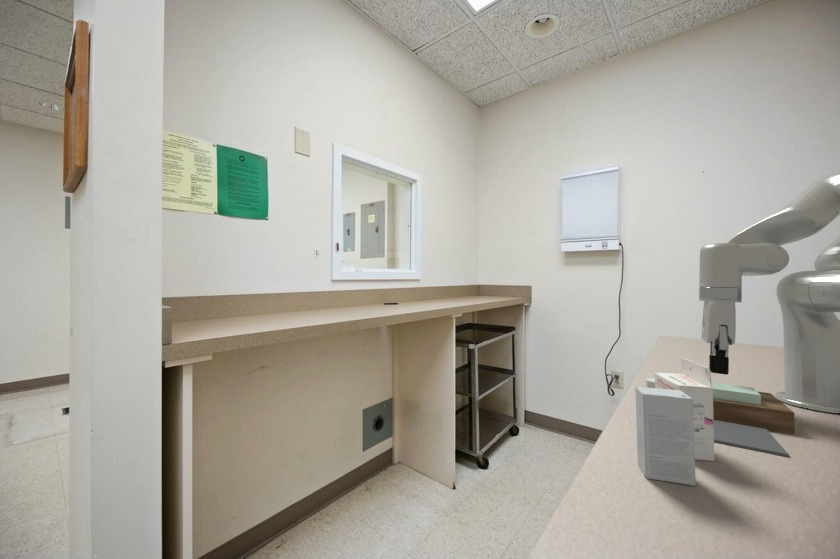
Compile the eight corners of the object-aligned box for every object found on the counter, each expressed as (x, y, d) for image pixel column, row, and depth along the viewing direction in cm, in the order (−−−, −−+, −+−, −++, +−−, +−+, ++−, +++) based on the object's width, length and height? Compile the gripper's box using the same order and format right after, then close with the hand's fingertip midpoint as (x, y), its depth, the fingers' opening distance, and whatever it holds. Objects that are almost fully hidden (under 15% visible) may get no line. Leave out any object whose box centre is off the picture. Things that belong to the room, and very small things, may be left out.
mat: (680, 415, 70) (680, 413, 70) (766, 430, 63) (766, 428, 63) (686, 436, 61) (686, 434, 61) (789, 457, 53) (789, 454, 53)
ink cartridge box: (653, 435, 61) (652, 355, 61) (684, 438, 60) (683, 356, 60) (680, 459, 52) (678, 366, 53) (716, 462, 51) (714, 367, 52)
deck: (679, 397, 82) (679, 381, 82) (770, 411, 73) (770, 393, 73) (685, 415, 71) (685, 396, 71) (794, 434, 62) (794, 412, 62)
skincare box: (683, 471, 49) (681, 389, 49) (696, 487, 45) (694, 398, 45) (635, 463, 51) (634, 385, 51) (644, 478, 47) (643, 393, 47)
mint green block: (704, 390, 75) (703, 381, 75) (752, 397, 71) (752, 387, 71) (708, 397, 70) (708, 388, 70) (761, 405, 66) (760, 395, 66)
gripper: (695, 295, 87) (694, 365, 86) (703, 294, 74) (702, 376, 74) (734, 296, 83) (733, 370, 82) (750, 296, 70) (749, 383, 70)
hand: (718, 372), depth 78 cm, fingers closed
